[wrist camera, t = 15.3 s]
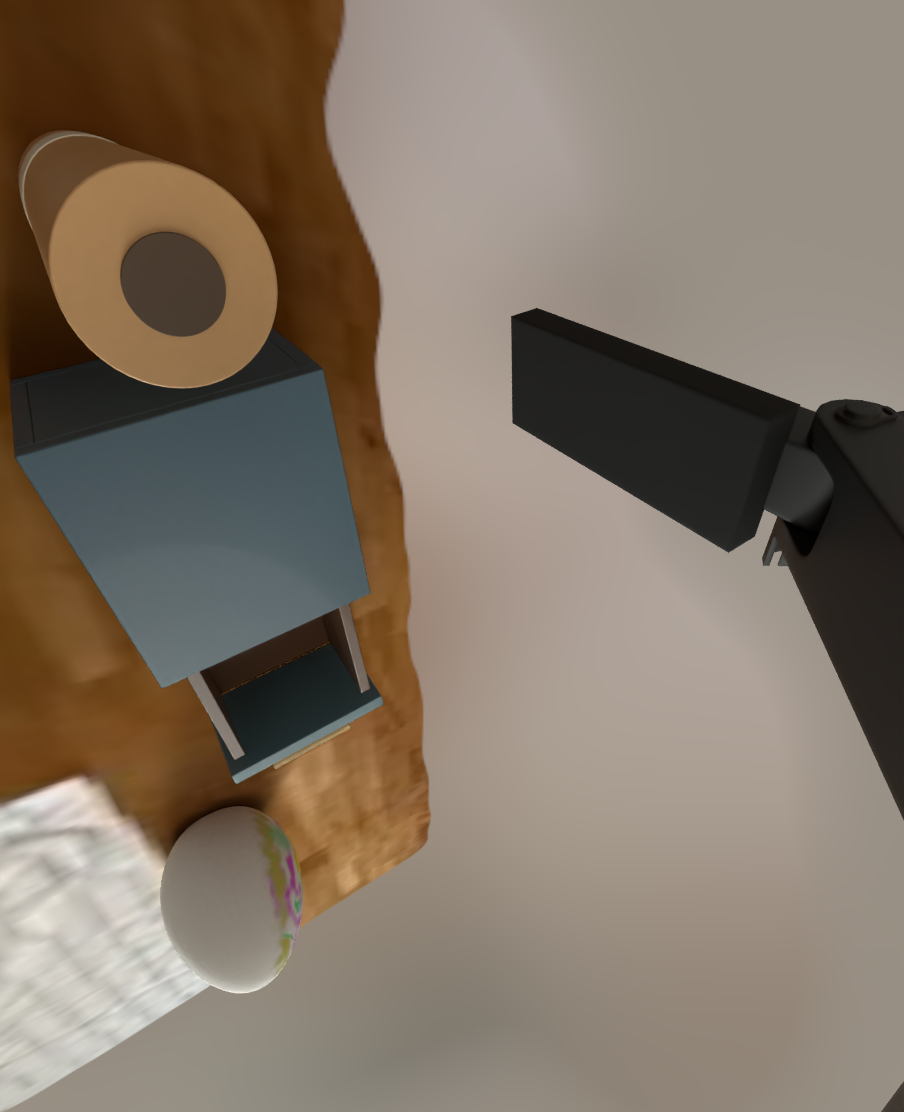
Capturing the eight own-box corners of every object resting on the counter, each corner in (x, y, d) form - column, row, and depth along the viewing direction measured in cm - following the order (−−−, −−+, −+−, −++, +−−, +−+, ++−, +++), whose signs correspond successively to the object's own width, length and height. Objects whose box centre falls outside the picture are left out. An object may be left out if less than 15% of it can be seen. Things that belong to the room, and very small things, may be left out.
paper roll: (108, 281, 30) (205, 428, 16) (-9, 196, 26) (-7, 297, 13) (168, 197, 29) (319, 279, 16) (58, 97, 25) (135, 93, 12)
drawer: (353, 674, 55) (390, 733, 50) (226, 739, 51) (253, 812, 46) (310, 519, 43) (354, 575, 38) (138, 585, 39) (160, 660, 33)
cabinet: (316, 524, 45) (371, 593, 39) (134, 595, 40) (162, 689, 33) (262, 319, 35) (323, 368, 28) (8, 380, 30) (13, 456, 23)
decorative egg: (266, 851, 65) (316, 986, 55) (145, 893, 57) (178, 1058, 47) (286, 777, 60) (345, 911, 50) (156, 812, 52) (195, 979, 42)
